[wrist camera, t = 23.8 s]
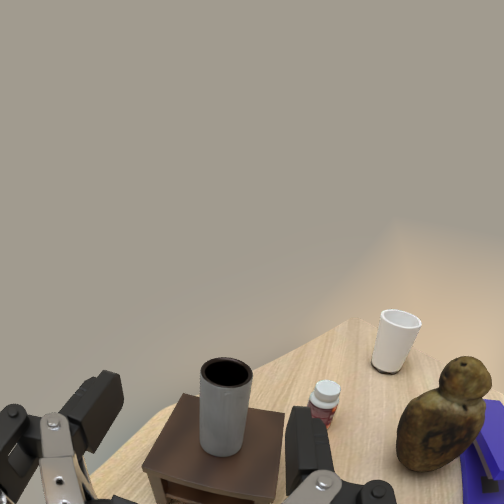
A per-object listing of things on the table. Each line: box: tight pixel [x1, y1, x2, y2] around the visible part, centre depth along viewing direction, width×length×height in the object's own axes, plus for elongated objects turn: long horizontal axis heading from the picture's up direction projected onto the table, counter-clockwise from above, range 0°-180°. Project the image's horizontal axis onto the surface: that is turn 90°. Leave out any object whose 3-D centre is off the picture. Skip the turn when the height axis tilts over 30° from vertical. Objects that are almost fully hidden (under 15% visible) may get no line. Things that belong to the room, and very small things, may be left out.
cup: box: [371, 309, 422, 374], centre depth 57 cm, size 10×10×13 cm
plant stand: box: [142, 393, 285, 504], centre depth 27 cm, size 13×13×10 cm
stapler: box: [460, 399, 504, 504], centre depth 25 cm, size 12×28×10 cm, turn 155°
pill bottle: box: [307, 380, 341, 429], centre depth 40 cm, size 5×5×8 cm
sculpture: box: [396, 356, 492, 472], centre depth 27 cm, size 13×8×20 cm, turn 55°
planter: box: [200, 357, 253, 457], centre depth 25 cm, size 4×4×10 cm
